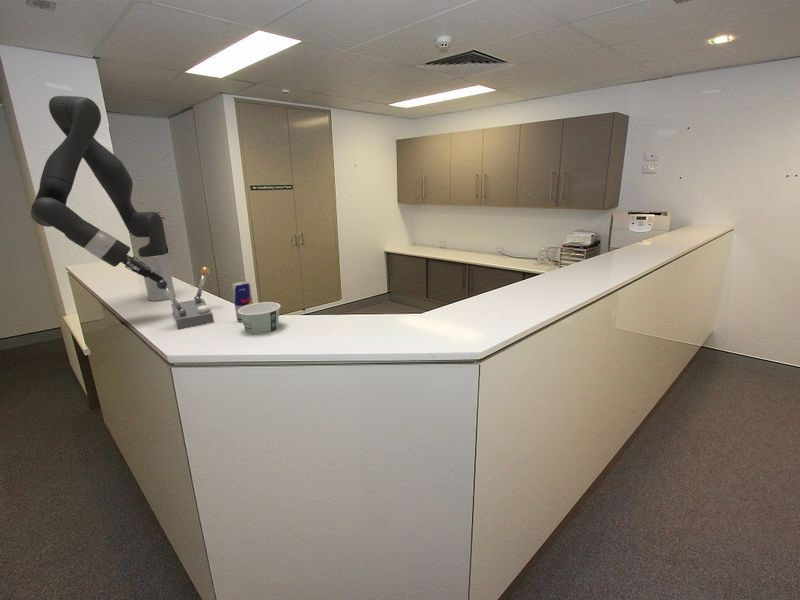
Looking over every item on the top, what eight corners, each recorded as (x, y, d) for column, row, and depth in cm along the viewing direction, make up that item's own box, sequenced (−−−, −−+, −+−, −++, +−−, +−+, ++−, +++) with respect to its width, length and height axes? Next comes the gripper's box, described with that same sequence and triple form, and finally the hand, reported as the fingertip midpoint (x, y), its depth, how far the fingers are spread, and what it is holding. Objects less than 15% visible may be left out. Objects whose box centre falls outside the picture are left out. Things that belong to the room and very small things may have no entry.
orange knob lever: (192, 300, 141) (201, 265, 140) (200, 302, 143) (209, 267, 142) (193, 302, 139) (202, 266, 138) (202, 303, 140) (211, 268, 140)
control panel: (172, 312, 142) (171, 303, 141) (204, 306, 147) (202, 298, 146) (178, 329, 124) (176, 319, 123) (213, 322, 129) (212, 313, 128)
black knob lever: (179, 315, 128) (154, 282, 122) (187, 311, 129) (163, 277, 123) (180, 318, 125) (154, 283, 120) (188, 313, 126) (163, 278, 121)
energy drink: (249, 322, 127) (243, 285, 124) (233, 322, 128) (227, 285, 125) (258, 317, 132) (253, 281, 129) (243, 316, 133) (237, 281, 130)
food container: (232, 332, 120) (228, 310, 118) (264, 320, 129) (261, 300, 128) (259, 338, 113) (256, 316, 112) (291, 325, 123) (289, 304, 121)
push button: (197, 311, 130) (196, 306, 130) (208, 309, 132) (207, 304, 132) (198, 313, 128) (197, 308, 127) (209, 311, 129) (209, 306, 129)
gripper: (115, 240, 119) (170, 275, 129) (116, 236, 130) (167, 268, 140) (97, 261, 118) (155, 294, 128) (100, 255, 129) (153, 286, 139)
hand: (161, 281), depth 134 cm, fingers closed
